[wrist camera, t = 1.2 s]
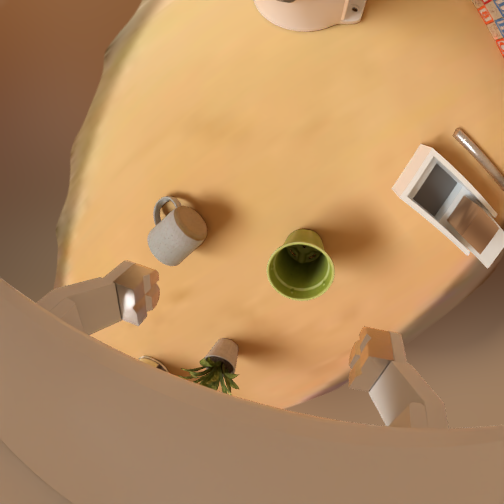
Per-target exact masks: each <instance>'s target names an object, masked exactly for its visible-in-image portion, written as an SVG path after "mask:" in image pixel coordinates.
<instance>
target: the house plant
mask: <svg viewBox="0 0 504 504" xmlns="http://www.w3.org/2000/svg"><path fill="white" fill-rule="evenodd" d="M237 356H238V346H237V345H236V343H234V342H233V341H232V340H230V339H226V338H222V339H219V340H218V341H217V342H216V344H215V345H214V346H213V347H212V349H211V350H210V351H209V353H208V354H207V355H206V357H205V358H204V359H202V360H201V361H200V364H201V365H202V366H203V367H200V368H196V369H188V370H186V369H183V370H185V371H188V372H189V373H190V375H191V376H189V377H182V376H179V377H181V378H183V379H191V378H200V379H198V380H196V381H194V383H198V382H200V381H201V383H200V384H199V385H202V386H205V387H208V388H211V389H214V390H217V389H218V386H219V382H221V386H222V392H223V393H226V394H227V392H228V393H229V394H230V395H232V394H231V386H232V387H233V388H235V389H239V387H238V386H237V385H236V384H235V383H234V381H233V380H232V379H233V378H235V377H237V376H238V375H239V374H238V375H236V374H234V372H235V368H236V362H237ZM203 368H206V369H207V370H205V371H203V372H199V373H196V372H193V371H198V370H200V369H203ZM181 369H182V368H181ZM207 373H208V374H207ZM205 374H206V375H205ZM202 375H204V376H202ZM177 376H178V375H177ZM197 376H202V377H197ZM223 377H224V378H225V381H226V385H227V387H226V386H225V384H224V379H223ZM230 385H231V386H230ZM227 388H228V389H227ZM226 390H227V391H226Z"/></svg>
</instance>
